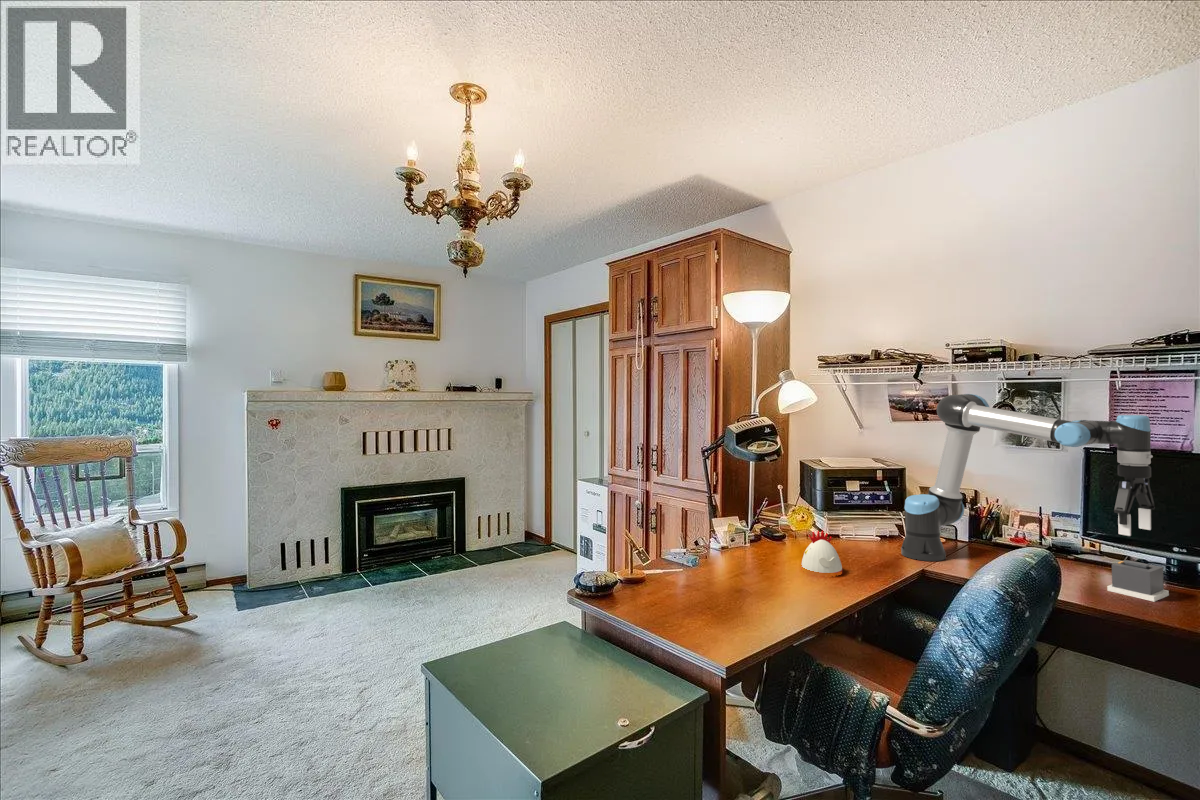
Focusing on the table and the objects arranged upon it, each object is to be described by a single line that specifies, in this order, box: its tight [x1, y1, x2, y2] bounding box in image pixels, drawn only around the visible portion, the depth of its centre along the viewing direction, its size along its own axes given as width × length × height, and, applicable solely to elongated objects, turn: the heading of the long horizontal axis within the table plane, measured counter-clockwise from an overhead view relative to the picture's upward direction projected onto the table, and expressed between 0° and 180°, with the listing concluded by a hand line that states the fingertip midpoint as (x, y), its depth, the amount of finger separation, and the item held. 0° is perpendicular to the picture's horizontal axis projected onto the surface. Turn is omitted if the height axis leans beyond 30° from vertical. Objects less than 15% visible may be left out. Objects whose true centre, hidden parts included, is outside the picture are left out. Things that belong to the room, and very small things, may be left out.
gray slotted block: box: [1111, 559, 1165, 595], centre depth 171 cm, size 9×9×7 cm
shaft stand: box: [1106, 559, 1170, 603], centre depth 171 cm, size 11×10×10 cm
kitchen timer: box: [801, 530, 843, 573], centre depth 200 cm, size 14×14×15 cm
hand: (1134, 532), depth 171 cm, fingers open, 13 cm apart
